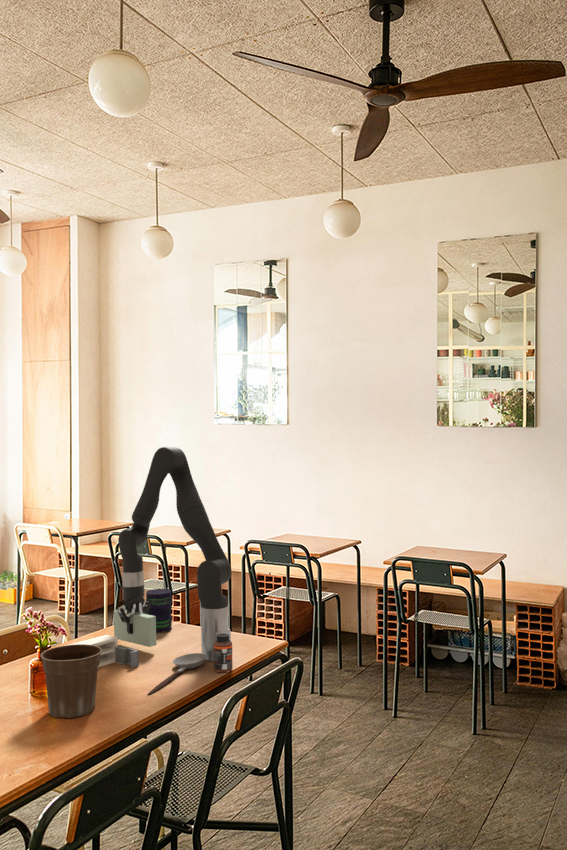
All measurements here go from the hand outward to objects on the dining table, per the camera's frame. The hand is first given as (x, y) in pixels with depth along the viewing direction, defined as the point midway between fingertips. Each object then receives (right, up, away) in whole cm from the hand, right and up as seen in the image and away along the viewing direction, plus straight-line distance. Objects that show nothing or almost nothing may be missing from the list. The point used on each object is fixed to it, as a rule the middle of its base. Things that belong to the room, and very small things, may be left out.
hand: (134, 632), depth 260 cm
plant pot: (-5, -5, -59) cm, 60 cm away
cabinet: (-8, -5, -24) cm, 25 cm away
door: (0, -3, 0) cm, 3 cm away
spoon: (+19, -5, -33) cm, 38 cm away
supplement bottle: (+34, -5, -27) cm, 43 cm away
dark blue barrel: (+4, -6, +25) cm, 26 cm away
